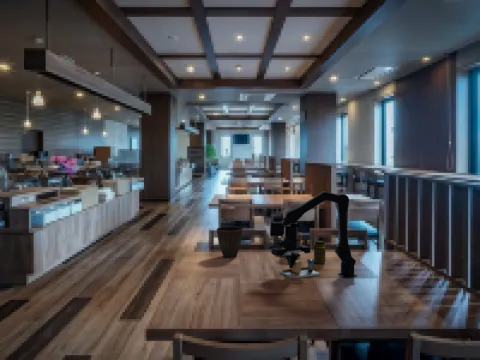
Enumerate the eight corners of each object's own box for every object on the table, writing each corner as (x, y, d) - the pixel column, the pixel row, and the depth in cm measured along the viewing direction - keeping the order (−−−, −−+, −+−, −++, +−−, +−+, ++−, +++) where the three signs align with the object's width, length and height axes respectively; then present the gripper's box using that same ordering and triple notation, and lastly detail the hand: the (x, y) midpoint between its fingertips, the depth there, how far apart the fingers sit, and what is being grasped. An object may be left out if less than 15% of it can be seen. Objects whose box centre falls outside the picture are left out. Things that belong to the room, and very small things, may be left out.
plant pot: (212, 258, 242) (212, 230, 241) (221, 252, 256) (221, 225, 255) (238, 260, 237) (238, 231, 236) (245, 254, 251) (245, 227, 250)
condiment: (328, 263, 232) (328, 241, 231) (319, 266, 226) (319, 243, 225) (317, 260, 237) (317, 239, 236) (308, 263, 231) (308, 241, 230)
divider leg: (300, 272, 208) (300, 262, 208) (296, 273, 207) (296, 262, 207) (294, 269, 214) (294, 259, 214) (289, 270, 213) (289, 259, 213)
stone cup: (306, 258, 243) (306, 231, 242) (288, 260, 238) (288, 233, 237) (291, 252, 257) (291, 227, 256) (274, 254, 251) (274, 229, 251)
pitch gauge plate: (320, 275, 209) (320, 262, 208) (291, 279, 202) (291, 265, 202) (307, 269, 219) (307, 257, 218) (280, 273, 212) (280, 260, 212)
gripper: (299, 232, 218) (298, 262, 219) (266, 234, 211) (266, 266, 212) (311, 235, 208) (310, 267, 209) (277, 238, 201) (276, 271, 202)
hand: (290, 268), depth 208 cm, fingers closed
